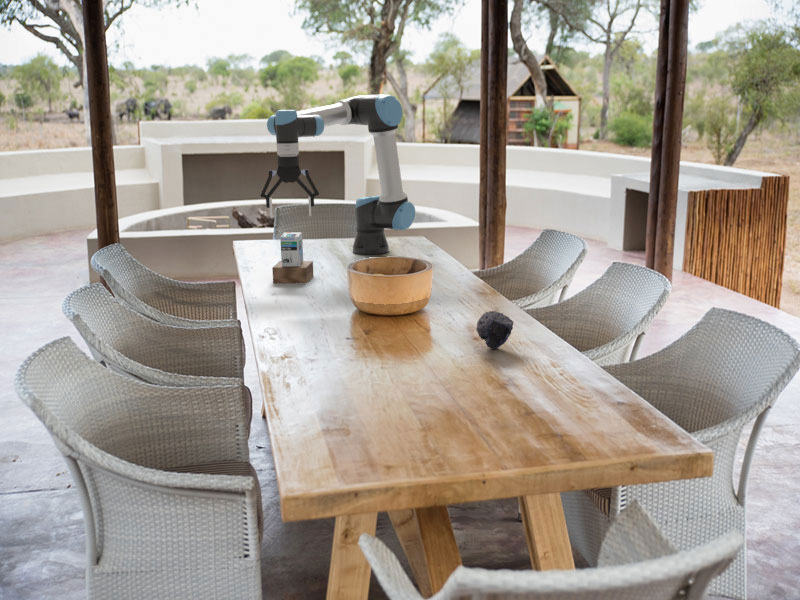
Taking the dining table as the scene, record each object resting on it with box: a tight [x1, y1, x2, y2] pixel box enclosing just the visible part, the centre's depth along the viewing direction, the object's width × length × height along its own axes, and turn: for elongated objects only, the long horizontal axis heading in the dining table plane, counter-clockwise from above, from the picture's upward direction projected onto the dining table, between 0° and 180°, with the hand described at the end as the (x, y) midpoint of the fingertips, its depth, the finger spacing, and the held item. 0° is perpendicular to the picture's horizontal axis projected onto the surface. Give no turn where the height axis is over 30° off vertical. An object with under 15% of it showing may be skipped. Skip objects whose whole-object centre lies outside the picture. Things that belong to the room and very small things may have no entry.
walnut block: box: [271, 260, 314, 284], centre depth 298 cm, size 12×12×6 cm
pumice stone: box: [475, 310, 514, 350], centre depth 214 cm, size 10×8×10 cm
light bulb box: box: [279, 231, 304, 267], centre depth 296 cm, size 11×7×11 cm, turn 0°
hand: (290, 216), depth 294 cm, fingers open, 13 cm apart
